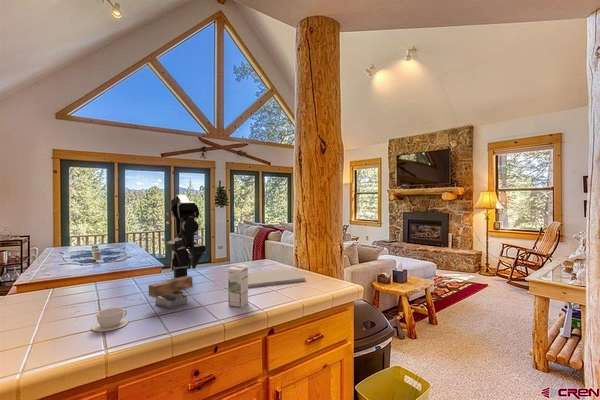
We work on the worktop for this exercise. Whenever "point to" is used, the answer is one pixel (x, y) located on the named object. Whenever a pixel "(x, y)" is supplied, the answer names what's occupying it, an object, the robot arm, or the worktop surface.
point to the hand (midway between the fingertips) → (187, 266)
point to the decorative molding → (274, 277)
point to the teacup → (110, 319)
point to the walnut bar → (170, 286)
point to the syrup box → (238, 286)
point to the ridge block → (172, 300)
